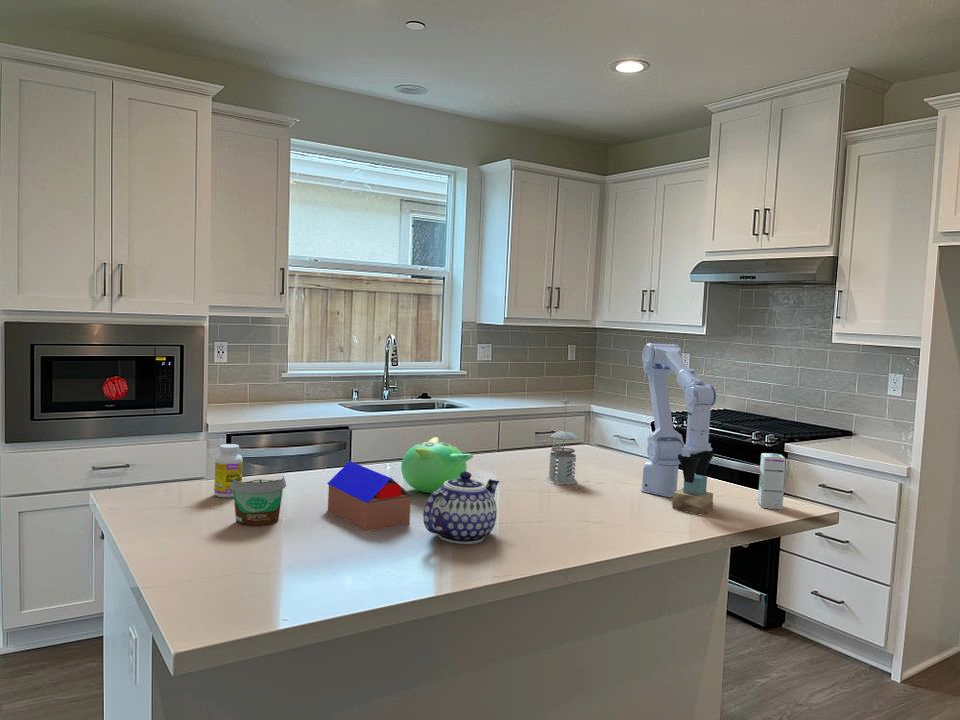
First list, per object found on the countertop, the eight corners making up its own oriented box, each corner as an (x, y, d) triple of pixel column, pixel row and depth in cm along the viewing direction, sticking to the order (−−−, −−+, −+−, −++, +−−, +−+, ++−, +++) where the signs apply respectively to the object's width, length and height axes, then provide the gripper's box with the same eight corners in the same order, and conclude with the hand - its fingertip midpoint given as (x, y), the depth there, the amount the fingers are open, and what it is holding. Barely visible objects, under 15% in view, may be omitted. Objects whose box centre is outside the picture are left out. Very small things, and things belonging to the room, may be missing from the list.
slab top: (672, 501, 194) (673, 492, 194) (684, 496, 201) (684, 487, 201) (701, 507, 190) (702, 498, 189) (712, 502, 196) (713, 493, 196)
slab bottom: (672, 510, 195) (672, 501, 194) (684, 505, 201) (684, 496, 201) (700, 517, 190) (701, 507, 189) (712, 511, 196) (713, 502, 196)
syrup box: (783, 510, 199) (787, 457, 198) (760, 508, 200) (764, 456, 199) (778, 504, 204) (782, 454, 203) (756, 502, 205) (760, 452, 204)
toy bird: (456, 483, 210) (458, 433, 209) (474, 499, 194) (476, 444, 193) (395, 485, 205) (397, 434, 204) (408, 501, 189) (410, 445, 188)
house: (369, 504, 185) (370, 459, 184) (411, 524, 170) (413, 475, 169) (325, 510, 178) (327, 463, 177) (366, 532, 162) (368, 481, 161)
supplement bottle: (224, 499, 182) (225, 449, 181) (208, 494, 186) (210, 445, 185) (247, 495, 187) (248, 446, 186) (231, 490, 191) (233, 442, 190)
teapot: (447, 559, 147) (450, 487, 146) (397, 541, 157) (400, 473, 156) (522, 533, 166) (526, 469, 165) (474, 518, 176) (476, 458, 175)
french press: (583, 481, 222) (587, 399, 220) (566, 487, 212) (571, 403, 210) (554, 475, 227) (558, 396, 225) (536, 482, 217) (541, 399, 216)
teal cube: (683, 492, 195) (684, 475, 194) (690, 489, 198) (691, 473, 198) (699, 495, 192) (700, 479, 192) (706, 493, 195) (707, 476, 195)
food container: (233, 530, 158) (234, 485, 157) (229, 522, 164) (230, 478, 163) (290, 525, 164) (291, 481, 163) (284, 517, 169) (285, 475, 169)
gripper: (701, 434, 186) (697, 486, 187) (722, 429, 197) (719, 478, 198) (675, 430, 190) (672, 481, 191) (697, 425, 201) (694, 473, 202)
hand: (694, 479), depth 195 cm, fingers open, 7 cm apart
